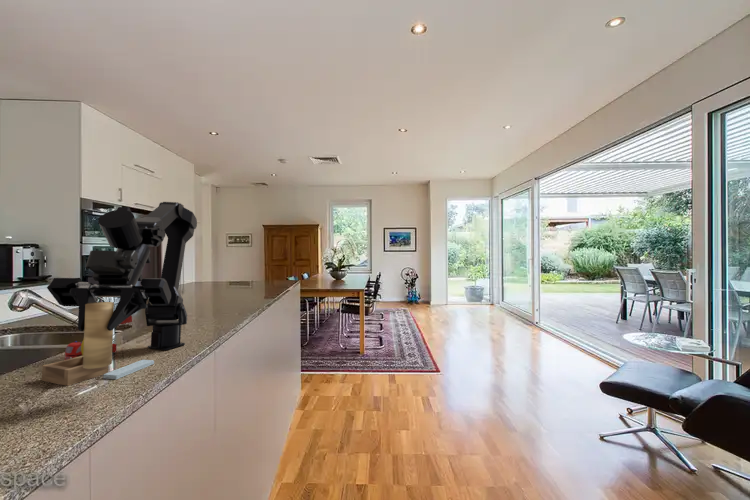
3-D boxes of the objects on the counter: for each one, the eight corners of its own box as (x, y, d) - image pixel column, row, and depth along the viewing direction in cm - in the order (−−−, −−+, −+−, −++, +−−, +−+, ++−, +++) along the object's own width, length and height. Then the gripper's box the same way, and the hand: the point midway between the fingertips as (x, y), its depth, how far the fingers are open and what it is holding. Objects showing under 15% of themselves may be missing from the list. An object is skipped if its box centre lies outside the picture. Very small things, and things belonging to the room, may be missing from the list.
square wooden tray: (83, 368, 75) (84, 355, 75) (108, 373, 72) (108, 359, 72) (41, 380, 67) (42, 365, 67) (67, 385, 65) (68, 370, 65)
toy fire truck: (61, 363, 78) (63, 321, 78) (122, 348, 91) (124, 312, 91) (71, 365, 77) (73, 322, 77) (131, 349, 90) (132, 313, 90)
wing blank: (142, 363, 79) (142, 359, 79) (153, 363, 79) (154, 360, 79) (103, 378, 69) (103, 374, 69) (116, 379, 69) (116, 375, 69)
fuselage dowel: (101, 360, 63) (103, 301, 63) (117, 362, 62) (119, 302, 62) (77, 366, 59) (79, 304, 59) (93, 369, 58) (95, 305, 58)
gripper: (56, 234, 62) (3, 302, 52) (168, 237, 67) (141, 301, 56) (80, 273, 70) (39, 340, 59) (180, 274, 74) (158, 337, 63)
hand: (94, 329), depth 59 cm, fingers closed on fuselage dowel, 4 cm apart
